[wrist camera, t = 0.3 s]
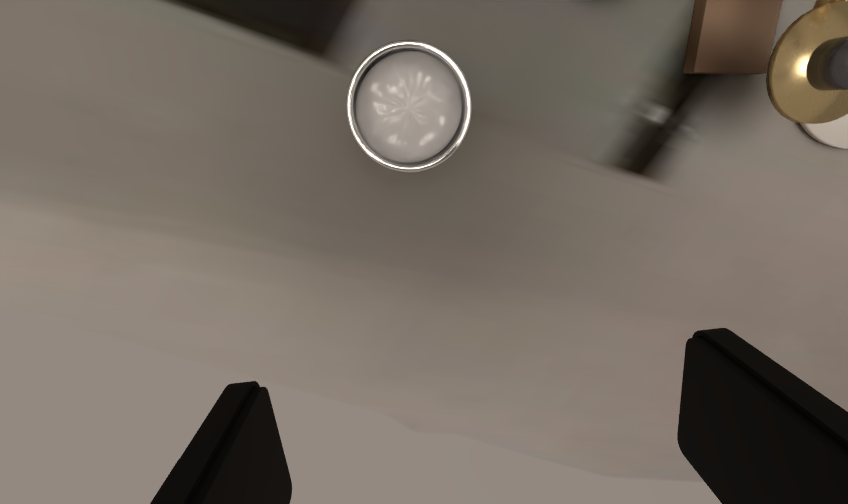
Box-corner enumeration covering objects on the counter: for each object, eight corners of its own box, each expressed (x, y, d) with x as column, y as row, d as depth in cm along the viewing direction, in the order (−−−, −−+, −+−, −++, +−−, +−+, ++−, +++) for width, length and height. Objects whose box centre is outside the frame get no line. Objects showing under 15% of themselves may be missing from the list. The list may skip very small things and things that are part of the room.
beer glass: (466, 111, 37) (503, 112, 23) (407, 168, 39) (407, 202, 24) (409, 44, 36) (411, 2, 21) (349, 107, 37) (313, 105, 23)
